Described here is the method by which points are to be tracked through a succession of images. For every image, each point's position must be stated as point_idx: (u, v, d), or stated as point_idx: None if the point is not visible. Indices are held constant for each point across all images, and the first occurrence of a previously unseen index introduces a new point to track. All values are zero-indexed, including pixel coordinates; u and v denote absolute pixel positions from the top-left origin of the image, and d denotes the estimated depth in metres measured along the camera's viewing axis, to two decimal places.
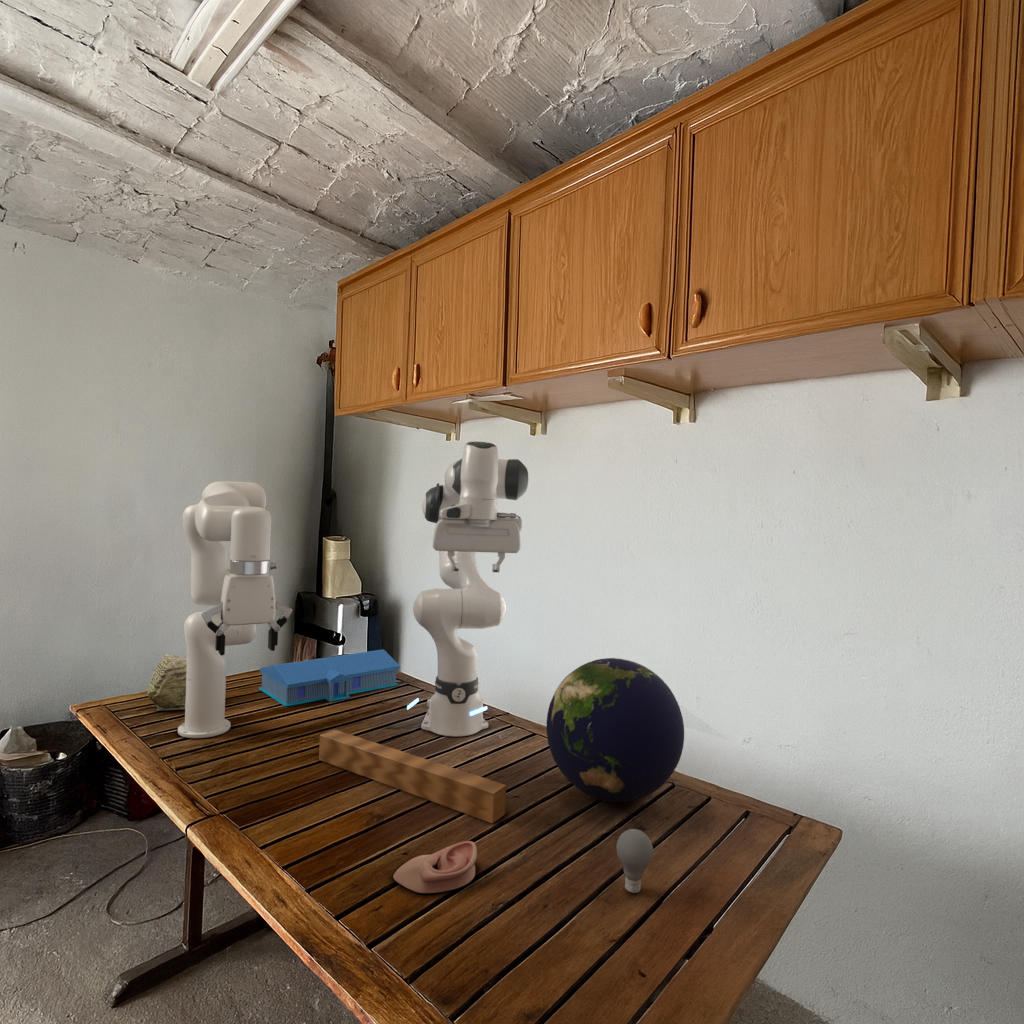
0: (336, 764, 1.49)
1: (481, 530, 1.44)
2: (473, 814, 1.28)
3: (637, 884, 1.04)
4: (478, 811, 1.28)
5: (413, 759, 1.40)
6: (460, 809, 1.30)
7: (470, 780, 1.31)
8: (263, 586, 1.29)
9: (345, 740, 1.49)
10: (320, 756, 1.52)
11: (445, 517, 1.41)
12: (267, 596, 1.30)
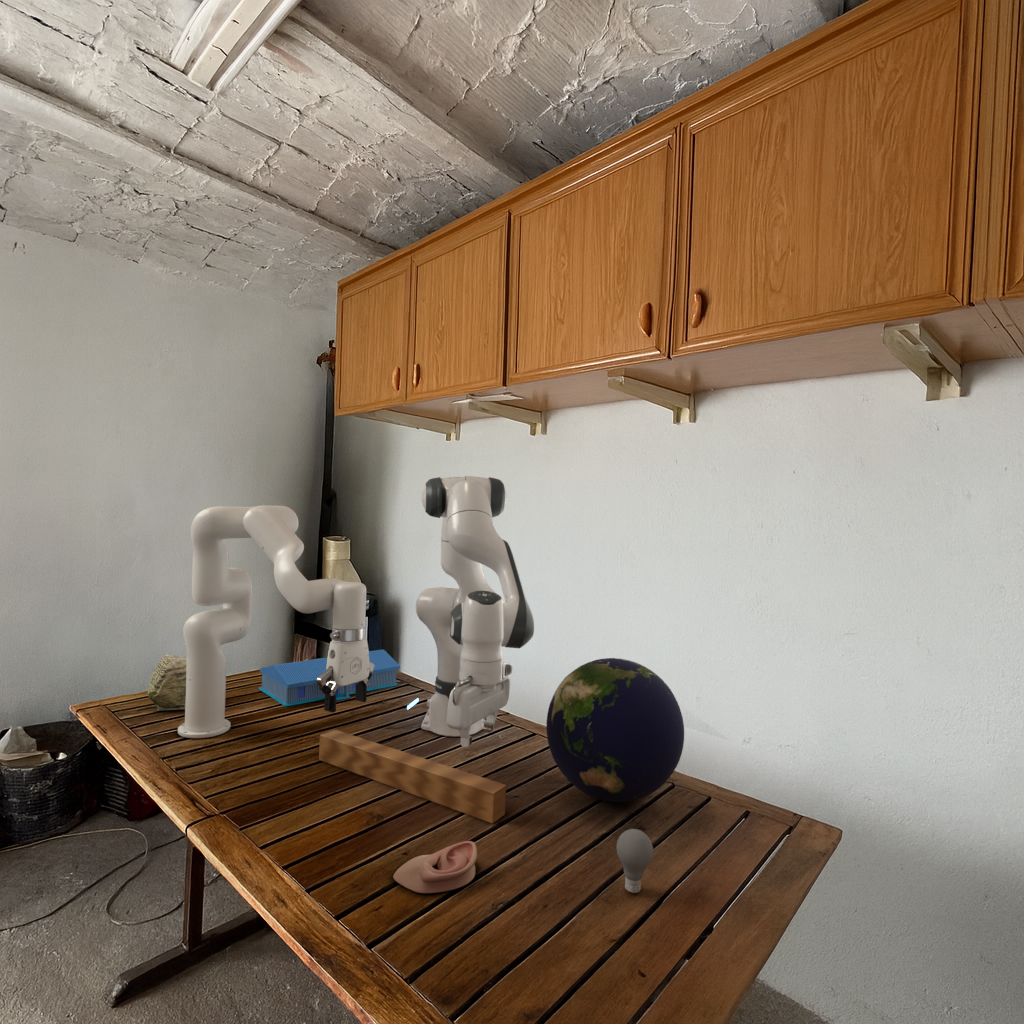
0: (336, 764, 1.49)
1: None
2: (473, 814, 1.28)
3: (637, 884, 1.04)
4: (478, 811, 1.28)
5: (413, 759, 1.40)
6: (460, 809, 1.30)
7: (470, 780, 1.31)
8: None
9: (345, 740, 1.49)
10: (320, 756, 1.52)
11: None
12: None
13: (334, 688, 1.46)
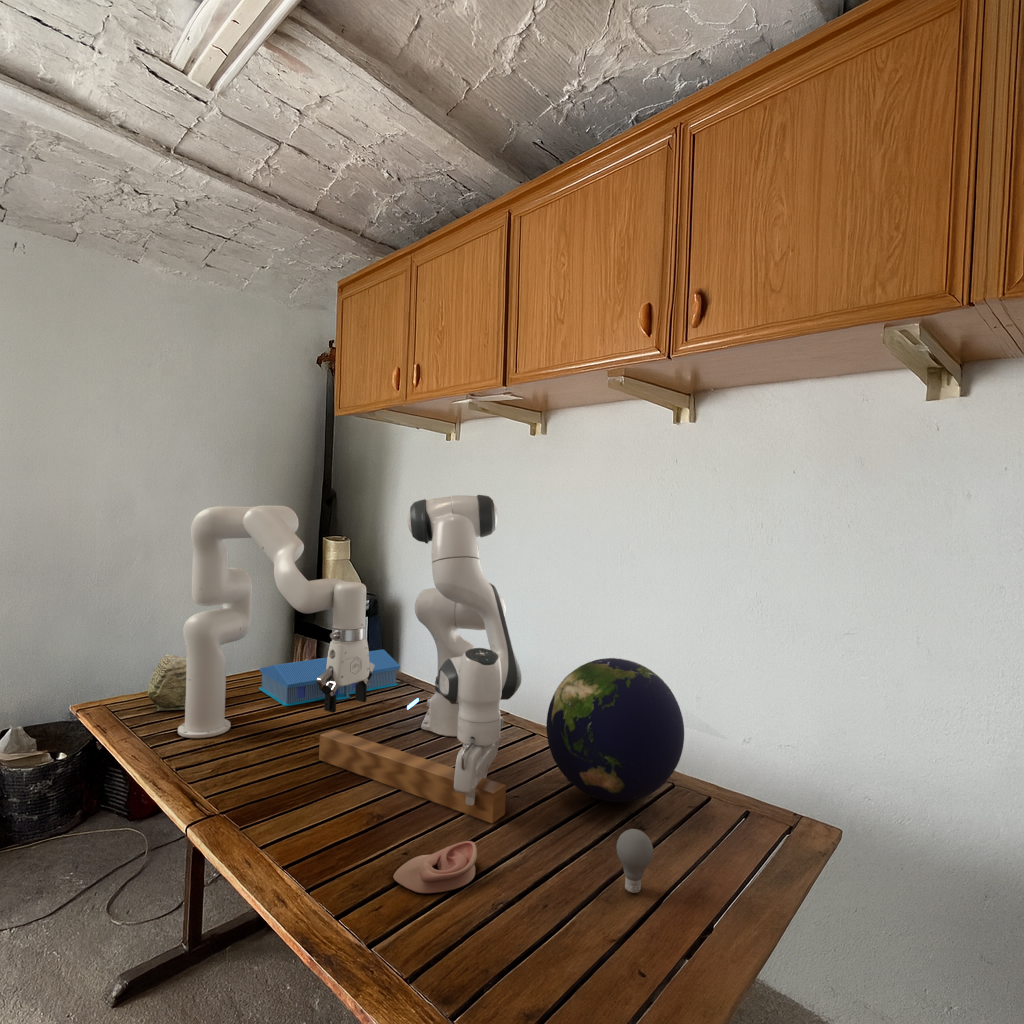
0: (336, 764, 1.49)
1: None
2: (473, 814, 1.28)
3: (637, 884, 1.04)
4: (478, 811, 1.28)
5: (413, 759, 1.40)
6: (460, 809, 1.30)
7: None
8: None
9: (345, 740, 1.49)
10: (320, 756, 1.52)
11: None
12: None
13: (334, 688, 1.46)
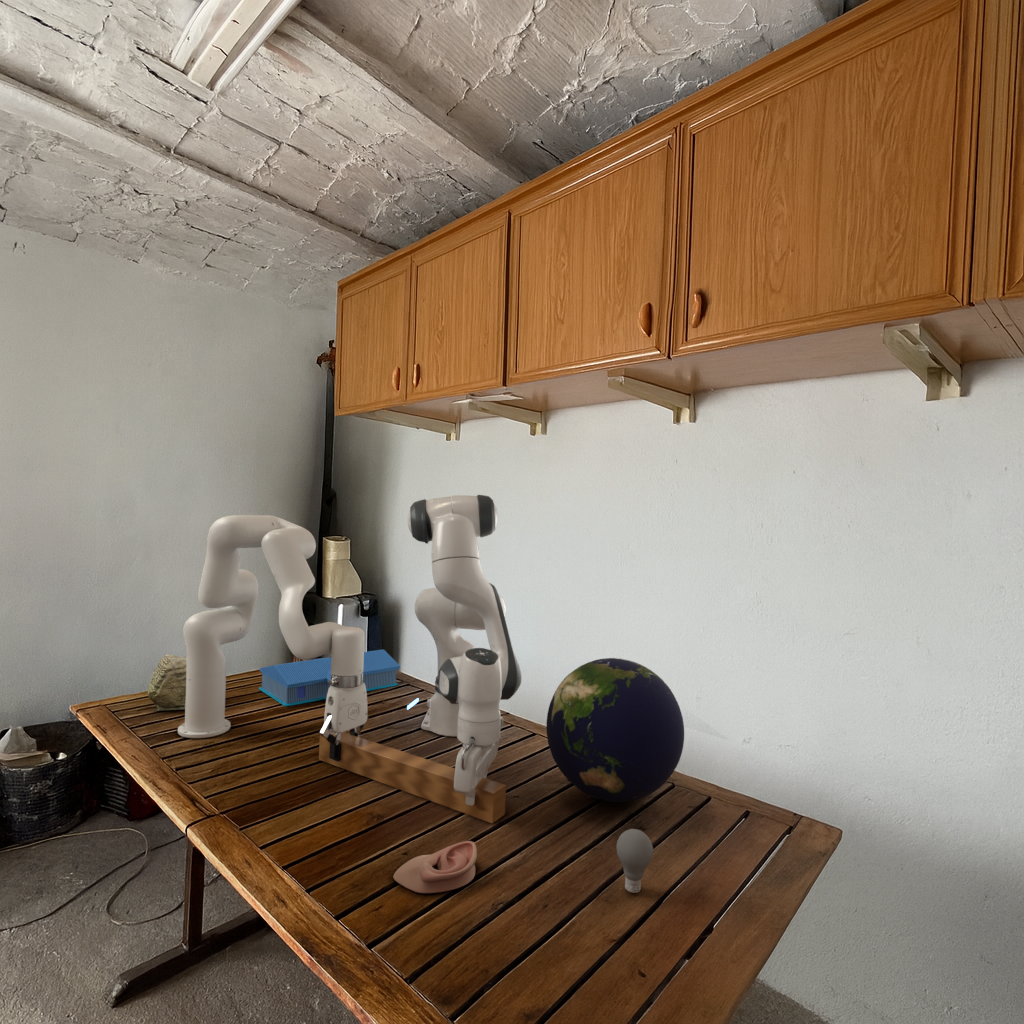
0: (336, 764, 1.49)
1: None
2: (473, 814, 1.28)
3: (637, 884, 1.04)
4: (478, 811, 1.28)
5: (413, 759, 1.40)
6: (460, 809, 1.30)
7: None
8: None
9: (345, 740, 1.49)
10: (320, 756, 1.52)
11: None
12: None
13: (337, 737, 1.47)
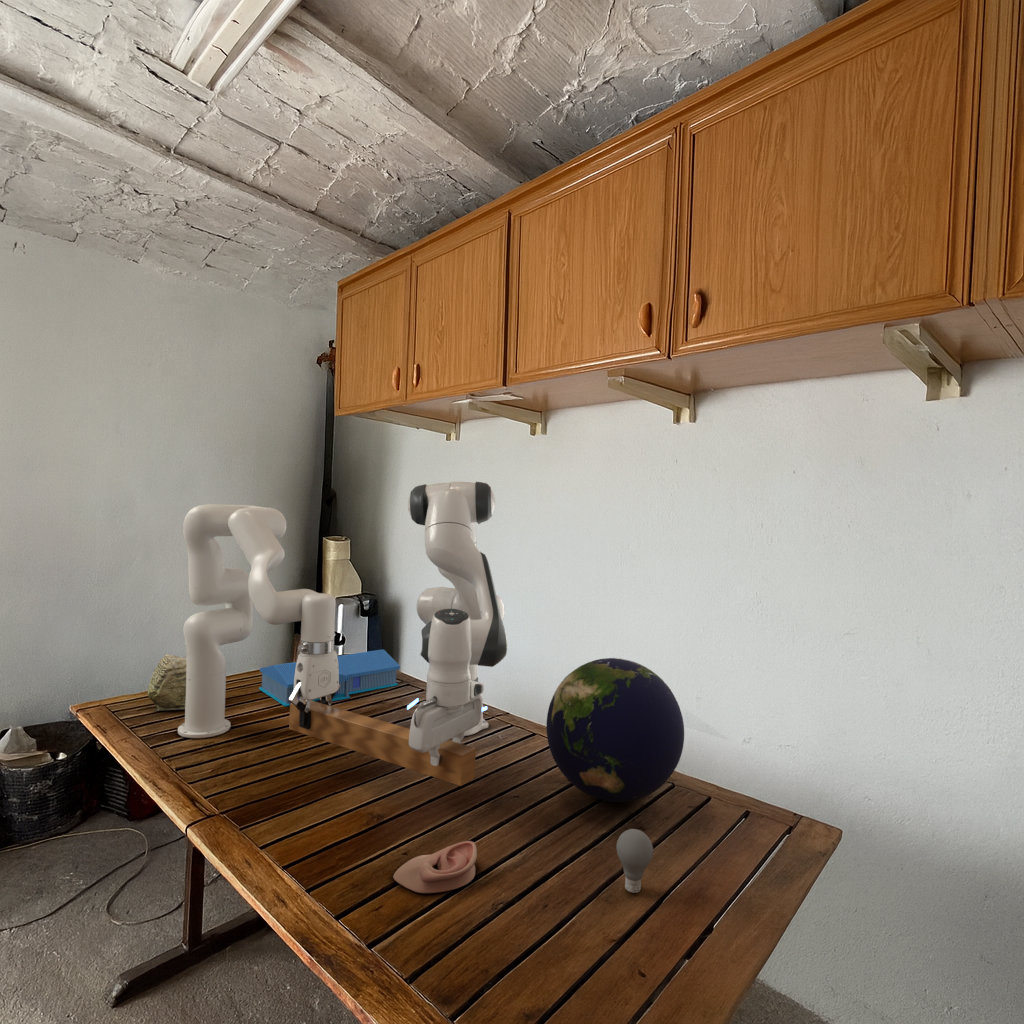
0: (306, 732, 1.46)
1: None
2: (441, 777, 1.26)
3: (637, 884, 1.04)
4: (447, 774, 1.25)
5: (383, 725, 1.37)
6: (429, 772, 1.27)
7: None
8: None
9: (315, 708, 1.46)
10: (290, 725, 1.49)
11: None
12: None
13: (307, 704, 1.45)
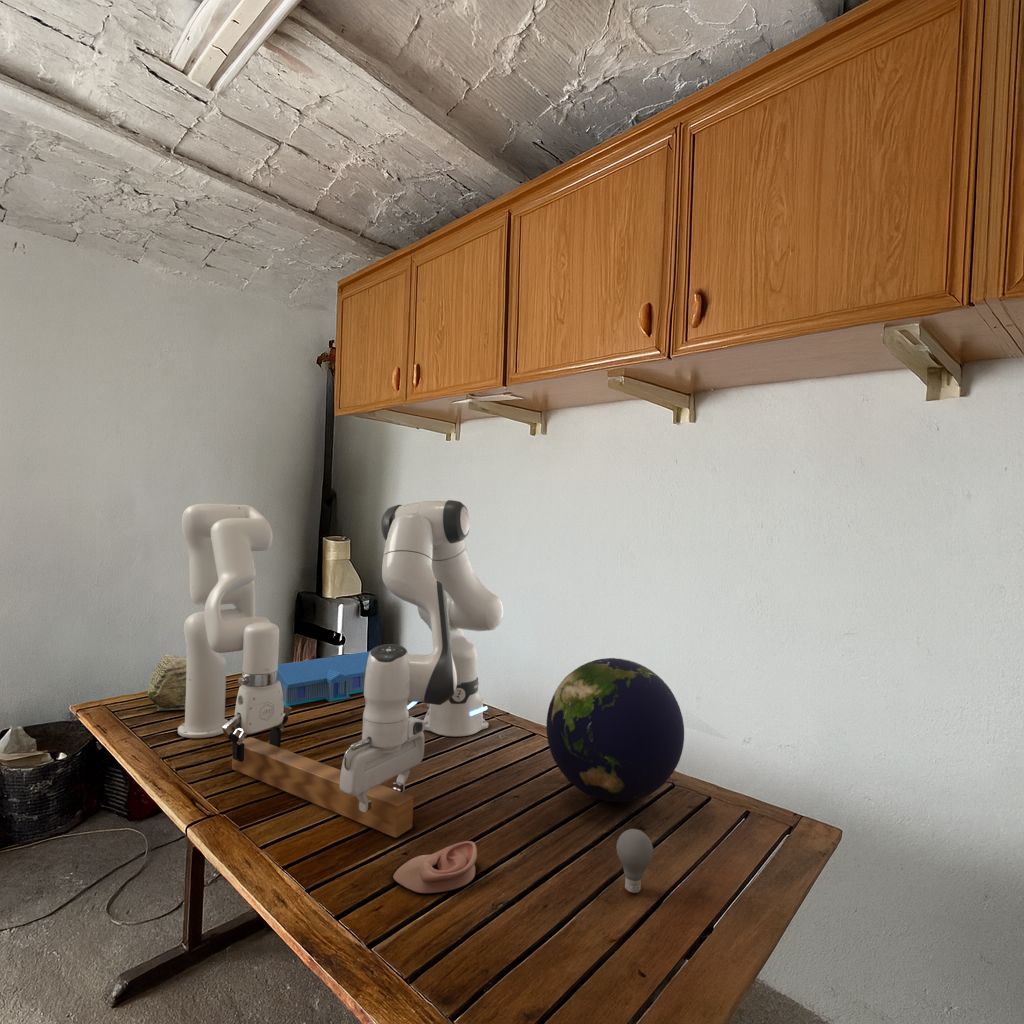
0: (248, 773, 1.42)
1: None
2: (377, 827, 1.21)
3: (637, 884, 1.04)
4: (382, 825, 1.21)
5: (322, 769, 1.33)
6: (365, 822, 1.23)
7: (376, 791, 1.24)
8: None
9: (257, 748, 1.42)
10: (232, 765, 1.45)
11: None
12: None
13: (242, 736, 1.39)
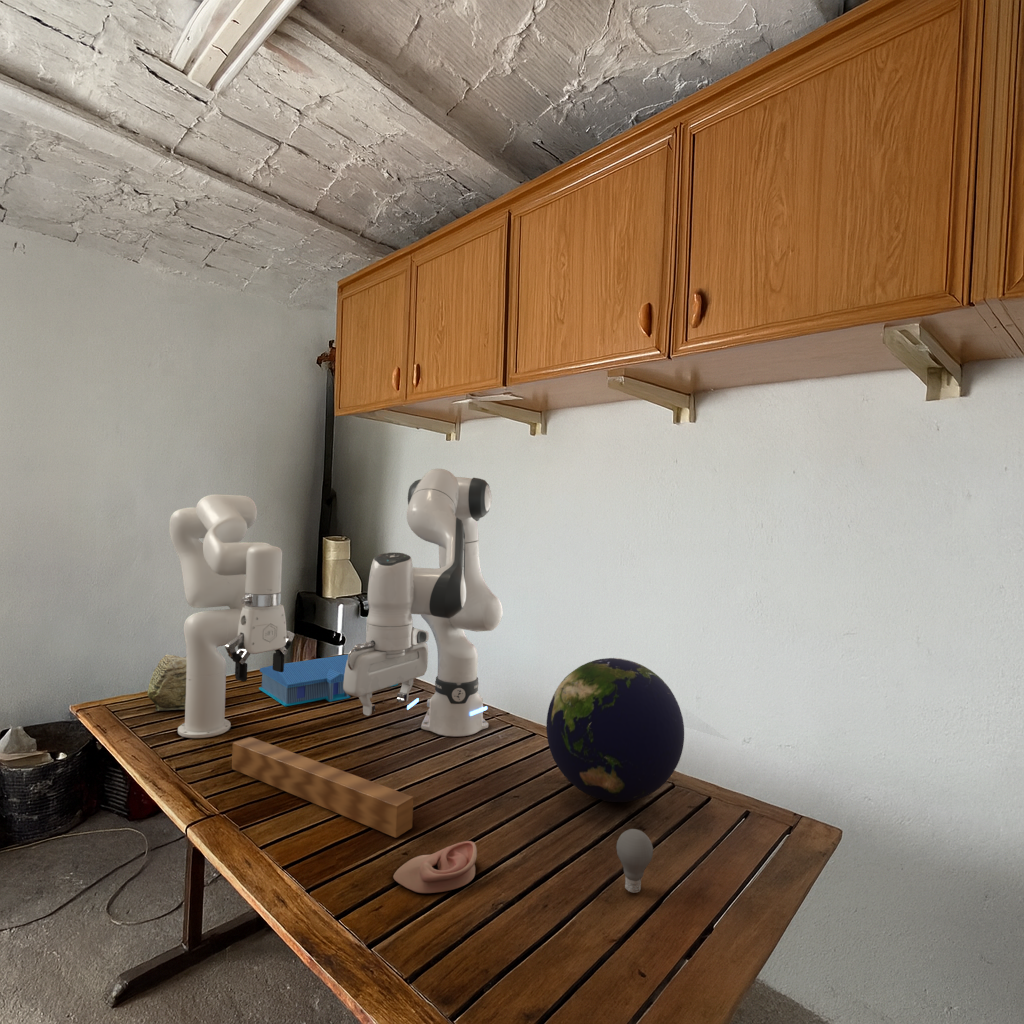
0: (248, 773, 1.42)
1: None
2: (377, 827, 1.21)
3: (637, 884, 1.04)
4: (382, 825, 1.21)
5: (322, 769, 1.33)
6: (365, 822, 1.23)
7: (376, 791, 1.24)
8: None
9: (257, 748, 1.42)
10: (232, 765, 1.45)
11: None
12: None
13: (245, 656, 1.38)
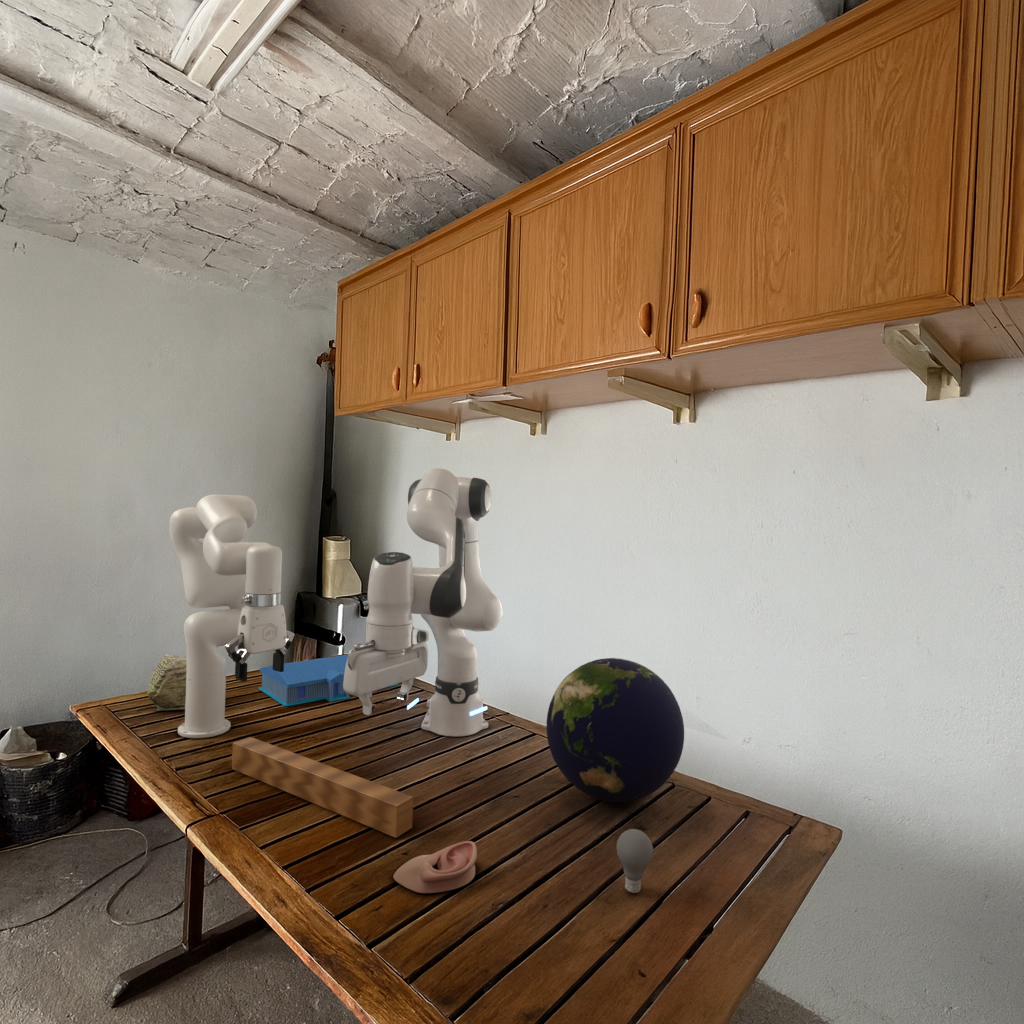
0: (248, 773, 1.42)
1: None
2: (377, 827, 1.21)
3: (637, 884, 1.04)
4: (382, 825, 1.21)
5: (322, 769, 1.33)
6: (365, 822, 1.23)
7: (376, 791, 1.24)
8: None
9: (257, 748, 1.42)
10: (232, 765, 1.45)
11: None
12: None
13: (245, 655, 1.38)
